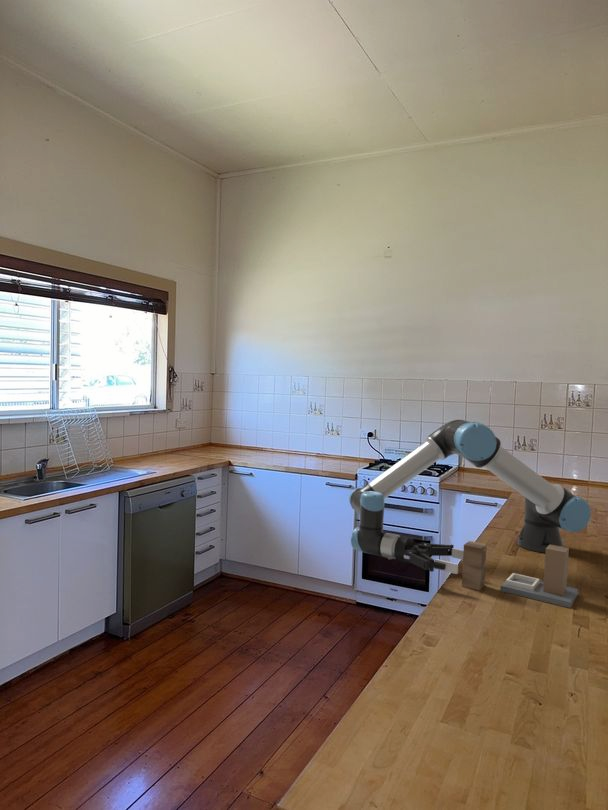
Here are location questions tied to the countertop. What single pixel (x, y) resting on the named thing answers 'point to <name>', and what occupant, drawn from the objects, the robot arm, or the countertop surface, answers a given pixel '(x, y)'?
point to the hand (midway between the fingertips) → (466, 562)
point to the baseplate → (542, 594)
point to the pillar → (474, 565)
